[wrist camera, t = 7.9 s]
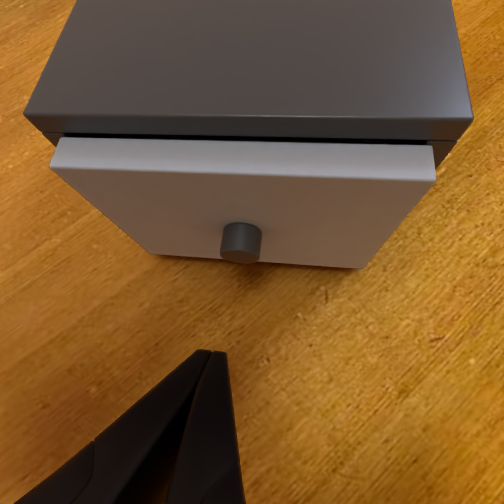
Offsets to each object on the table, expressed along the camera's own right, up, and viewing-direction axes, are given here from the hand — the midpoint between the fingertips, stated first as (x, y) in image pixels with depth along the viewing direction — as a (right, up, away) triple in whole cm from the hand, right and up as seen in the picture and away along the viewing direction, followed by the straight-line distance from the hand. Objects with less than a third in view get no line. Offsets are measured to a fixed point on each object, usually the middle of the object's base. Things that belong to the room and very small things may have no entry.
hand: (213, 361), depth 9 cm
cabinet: (+2, +10, +11) cm, 15 cm away
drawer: (+2, +8, +9) cm, 12 cm away
